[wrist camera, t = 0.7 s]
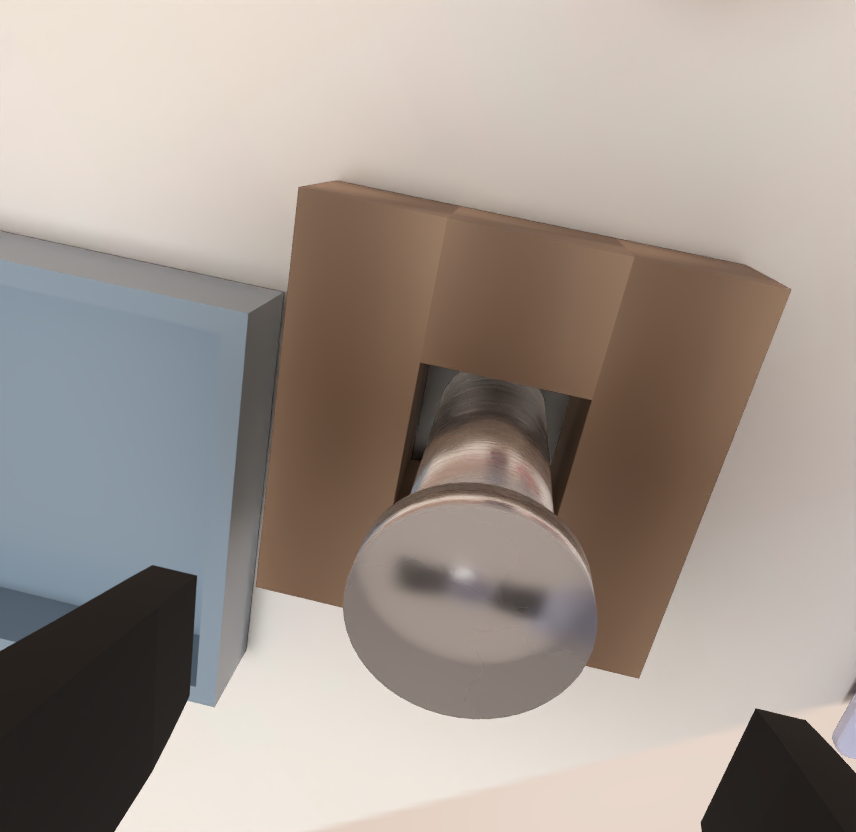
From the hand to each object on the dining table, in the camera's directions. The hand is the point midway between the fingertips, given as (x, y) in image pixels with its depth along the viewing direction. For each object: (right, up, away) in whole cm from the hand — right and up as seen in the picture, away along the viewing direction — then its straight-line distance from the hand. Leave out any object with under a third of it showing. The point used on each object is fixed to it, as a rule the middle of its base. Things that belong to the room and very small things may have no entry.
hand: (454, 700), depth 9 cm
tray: (-11, +3, +12) cm, 16 cm away
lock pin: (+1, +4, +10) cm, 10 cm away
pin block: (+1, +4, +10) cm, 10 cm away
